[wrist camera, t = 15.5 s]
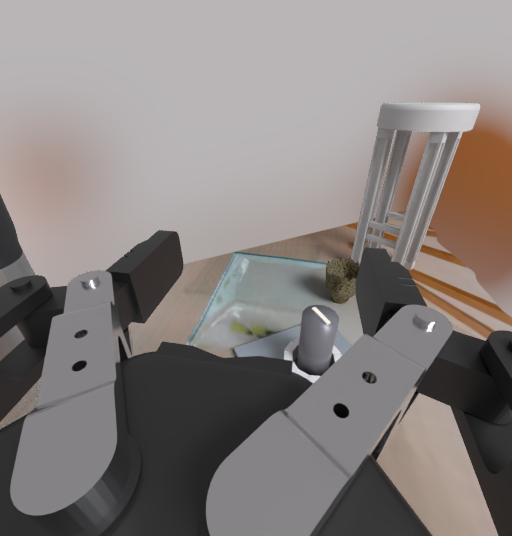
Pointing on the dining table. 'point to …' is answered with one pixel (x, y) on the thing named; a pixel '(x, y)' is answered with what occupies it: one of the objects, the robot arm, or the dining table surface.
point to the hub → (288, 348)
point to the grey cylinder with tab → (316, 339)
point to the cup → (341, 279)
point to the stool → (427, 181)
